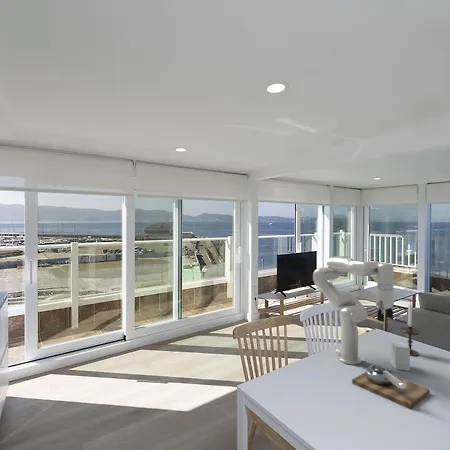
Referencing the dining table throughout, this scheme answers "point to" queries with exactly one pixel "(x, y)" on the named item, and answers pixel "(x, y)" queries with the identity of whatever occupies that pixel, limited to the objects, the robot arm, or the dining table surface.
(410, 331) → the candlestick
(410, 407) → the wooden base
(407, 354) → the supplement box
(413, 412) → the dining table surface
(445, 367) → the dining table surface
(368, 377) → the faucet lever handle
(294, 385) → the dining table surface
